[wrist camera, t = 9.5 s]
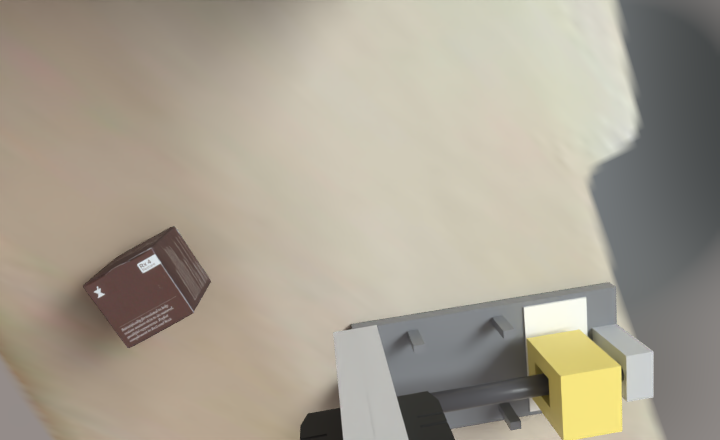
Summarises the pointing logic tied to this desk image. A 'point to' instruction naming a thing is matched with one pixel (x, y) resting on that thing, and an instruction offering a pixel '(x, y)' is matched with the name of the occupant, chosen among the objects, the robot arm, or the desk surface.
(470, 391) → the gray rail plate
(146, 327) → the box
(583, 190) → the desk surface
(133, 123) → the desk surface
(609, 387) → the sleeve
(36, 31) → the desk surface
